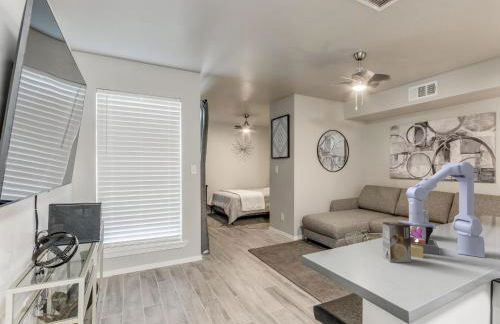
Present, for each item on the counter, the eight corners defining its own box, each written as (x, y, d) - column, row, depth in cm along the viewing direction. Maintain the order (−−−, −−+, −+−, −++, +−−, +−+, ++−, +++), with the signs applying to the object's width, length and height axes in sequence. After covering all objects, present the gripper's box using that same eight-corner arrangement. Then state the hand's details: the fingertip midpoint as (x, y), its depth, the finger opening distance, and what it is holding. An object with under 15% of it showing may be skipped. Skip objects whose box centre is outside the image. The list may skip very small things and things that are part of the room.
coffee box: (402, 257, 113) (402, 221, 113) (411, 262, 106) (411, 225, 107) (382, 257, 113) (381, 221, 113) (390, 262, 107) (389, 225, 107)
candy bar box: (408, 234, 152) (408, 207, 153) (417, 234, 152) (416, 207, 153) (421, 239, 141) (420, 210, 142) (430, 239, 141) (429, 211, 142)
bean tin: (425, 247, 126) (425, 238, 126) (427, 250, 121) (427, 240, 121) (413, 245, 129) (413, 236, 129) (414, 248, 124) (414, 239, 124)
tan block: (422, 255, 116) (422, 246, 116) (423, 258, 112) (423, 248, 112) (410, 253, 118) (410, 244, 118) (411, 256, 114) (410, 247, 114)
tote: (435, 247, 127) (435, 239, 127) (438, 255, 116) (438, 246, 116) (404, 243, 134) (403, 235, 134) (404, 250, 123) (404, 242, 123)
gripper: (398, 212, 116) (398, 241, 115) (436, 215, 108) (437, 247, 108) (398, 210, 122) (398, 238, 121) (434, 213, 114) (435, 243, 114)
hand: (416, 242), depth 115 cm, fingers open, 7 cm apart
